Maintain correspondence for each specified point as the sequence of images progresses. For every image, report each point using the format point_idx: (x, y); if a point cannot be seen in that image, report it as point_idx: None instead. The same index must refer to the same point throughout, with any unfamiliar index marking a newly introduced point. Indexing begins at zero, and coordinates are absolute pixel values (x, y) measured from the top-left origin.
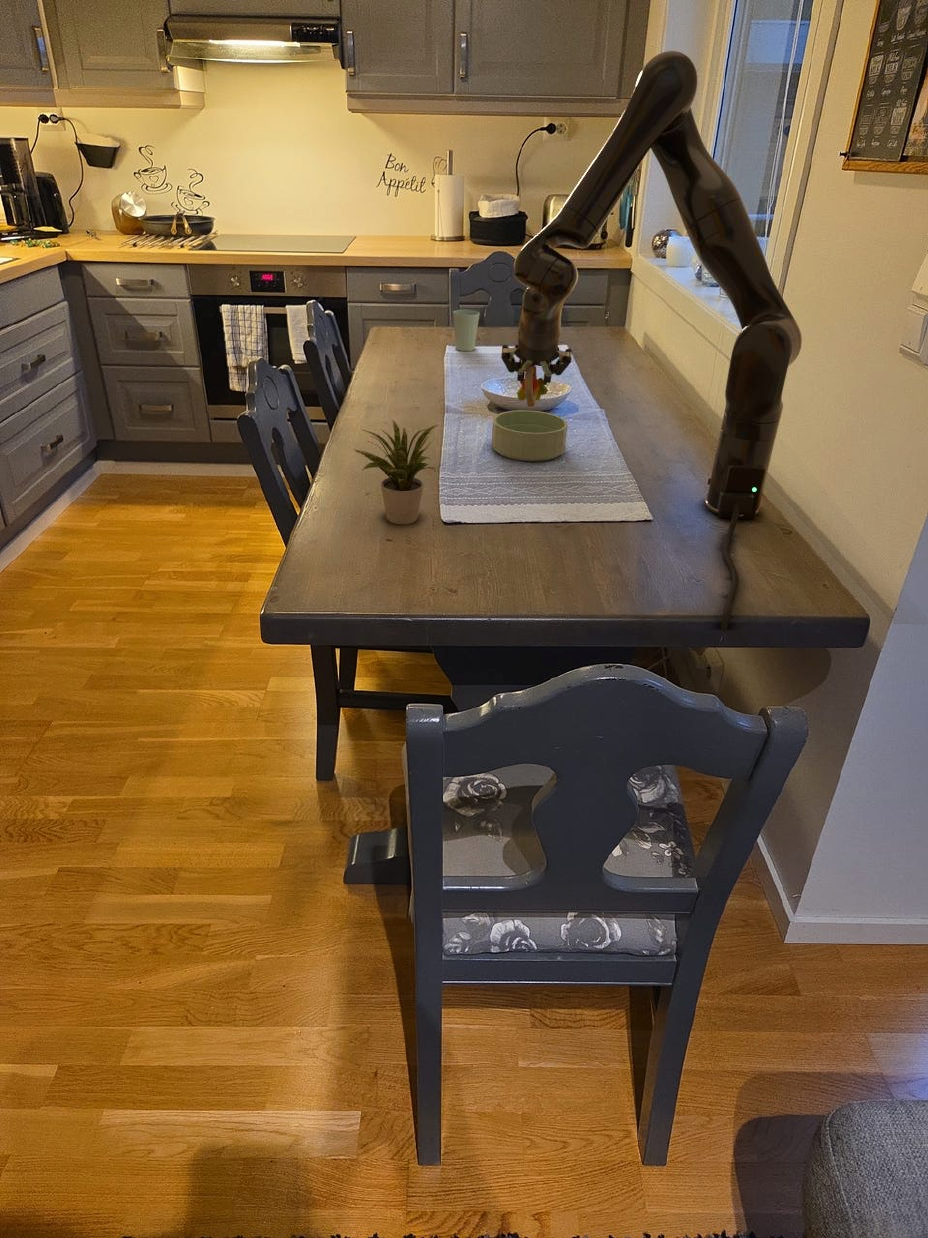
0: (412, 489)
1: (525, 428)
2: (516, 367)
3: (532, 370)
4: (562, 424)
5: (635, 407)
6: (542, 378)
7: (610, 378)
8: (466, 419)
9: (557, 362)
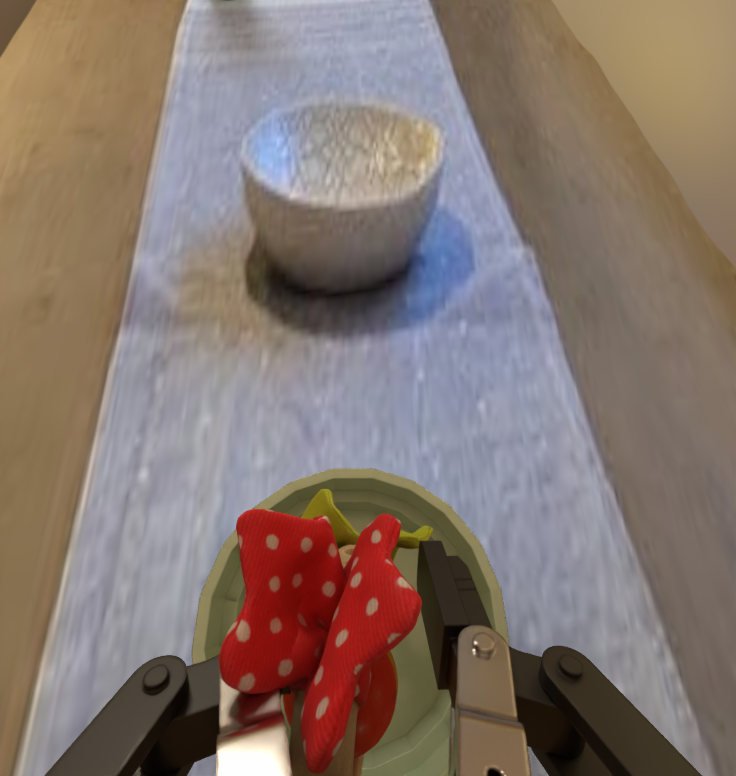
0: None
1: (340, 504)
2: (203, 752)
3: (346, 764)
4: (479, 577)
5: (599, 227)
6: (411, 537)
7: (516, 90)
8: (175, 367)
9: (572, 721)
